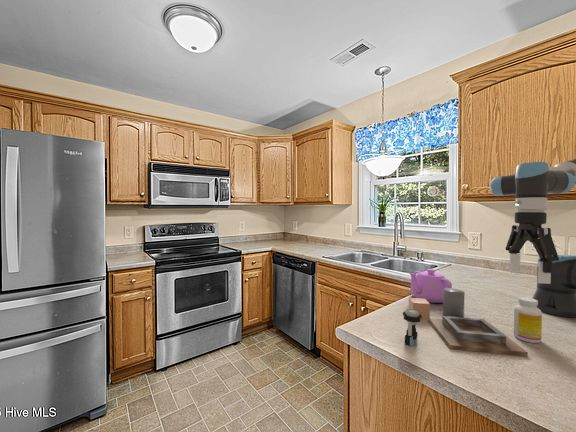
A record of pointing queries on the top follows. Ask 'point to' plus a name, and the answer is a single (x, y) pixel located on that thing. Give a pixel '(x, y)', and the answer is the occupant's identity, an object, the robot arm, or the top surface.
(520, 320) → the supplement bottle
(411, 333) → the push button
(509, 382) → the top surface
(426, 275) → the teapot
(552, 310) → the robot arm
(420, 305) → the terracotta block
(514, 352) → the socket board
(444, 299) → the grey rounded capsule
